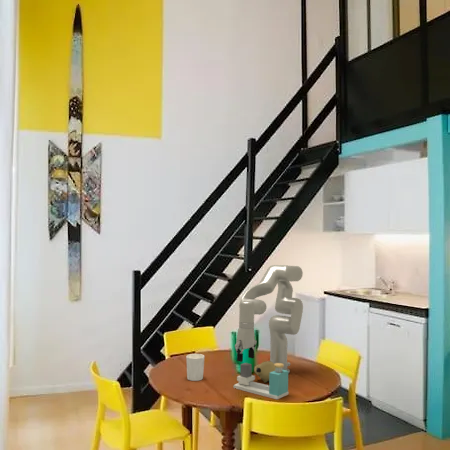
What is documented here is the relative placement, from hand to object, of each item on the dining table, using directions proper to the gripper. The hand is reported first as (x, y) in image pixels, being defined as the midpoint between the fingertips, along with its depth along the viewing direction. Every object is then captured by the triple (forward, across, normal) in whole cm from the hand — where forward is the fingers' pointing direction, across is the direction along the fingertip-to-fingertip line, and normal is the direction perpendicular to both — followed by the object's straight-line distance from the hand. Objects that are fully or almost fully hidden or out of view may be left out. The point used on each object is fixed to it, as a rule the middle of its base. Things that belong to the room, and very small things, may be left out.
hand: (245, 359), depth 253 cm
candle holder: (+14, +5, -29) cm, 33 cm away
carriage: (+12, -1, 0) cm, 12 cm away
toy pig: (+14, -16, +2) cm, 21 cm away
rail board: (+14, -1, +9) cm, 17 cm away
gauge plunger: (+6, -1, +19) cm, 20 cm away
